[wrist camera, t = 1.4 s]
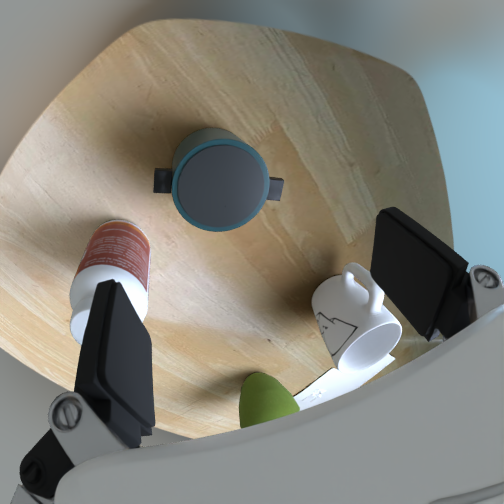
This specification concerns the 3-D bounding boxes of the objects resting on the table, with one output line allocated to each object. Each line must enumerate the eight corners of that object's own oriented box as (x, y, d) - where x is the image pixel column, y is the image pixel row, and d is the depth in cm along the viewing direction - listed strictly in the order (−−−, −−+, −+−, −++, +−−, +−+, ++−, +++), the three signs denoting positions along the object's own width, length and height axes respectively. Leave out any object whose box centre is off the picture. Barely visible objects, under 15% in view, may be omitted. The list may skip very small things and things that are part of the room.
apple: (290, 359, 41) (318, 421, 32) (269, 388, 45) (290, 445, 36) (238, 359, 38) (260, 430, 29) (221, 389, 42) (238, 452, 32)
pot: (162, 123, 20) (157, 133, 15) (268, 134, 23) (295, 148, 18) (155, 198, 24) (151, 230, 19) (254, 204, 26) (275, 235, 21)
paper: (315, 417, 59) (317, 421, 59) (266, 414, 51) (268, 418, 50) (397, 354, 53) (399, 358, 52) (362, 338, 44) (365, 343, 43)
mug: (310, 249, 31) (357, 310, 23) (371, 241, 33) (422, 291, 25) (298, 322, 37) (329, 382, 29) (351, 310, 39) (387, 361, 31)
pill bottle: (84, 221, 23) (44, 301, 14) (147, 214, 24) (135, 294, 15) (98, 276, 26) (78, 363, 17) (155, 271, 27) (154, 360, 18)
